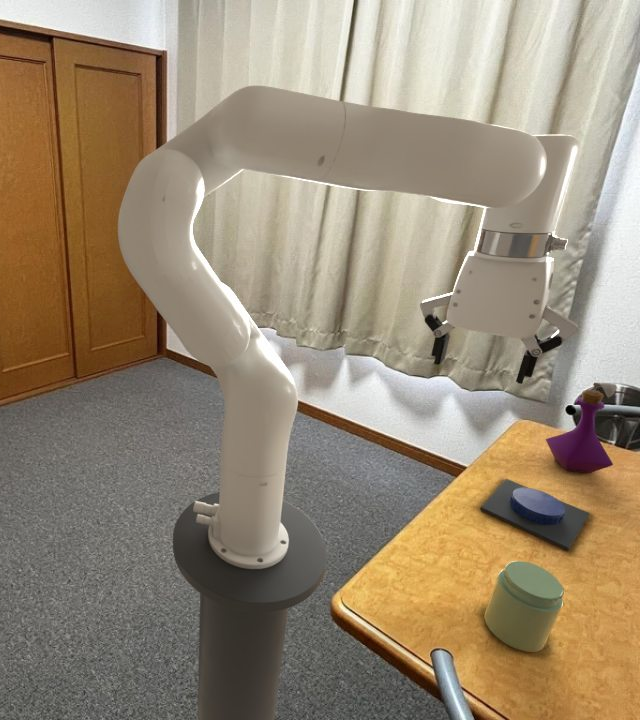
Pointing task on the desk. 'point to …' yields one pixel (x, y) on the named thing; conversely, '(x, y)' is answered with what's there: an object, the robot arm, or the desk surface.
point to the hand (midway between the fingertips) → (477, 370)
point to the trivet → (554, 534)
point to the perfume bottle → (583, 436)
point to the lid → (537, 506)
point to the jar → (524, 606)
